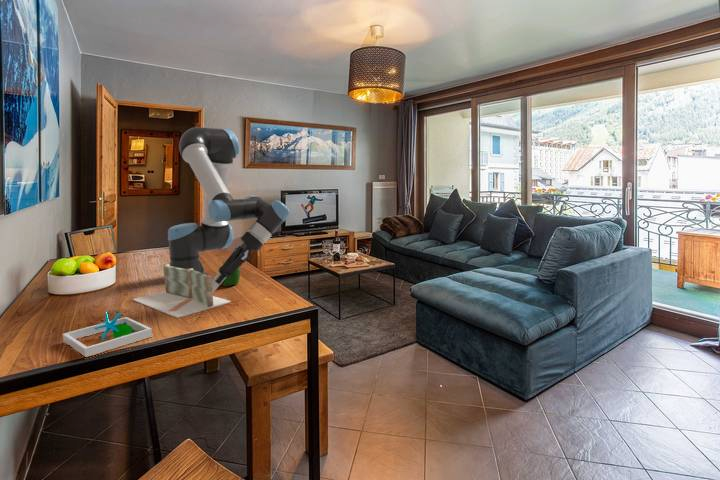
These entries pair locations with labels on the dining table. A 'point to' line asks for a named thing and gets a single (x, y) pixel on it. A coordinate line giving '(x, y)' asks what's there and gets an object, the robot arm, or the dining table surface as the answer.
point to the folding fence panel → (201, 287)
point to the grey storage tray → (97, 348)
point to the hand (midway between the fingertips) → (209, 289)
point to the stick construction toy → (115, 327)
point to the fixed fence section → (178, 280)
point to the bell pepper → (231, 278)
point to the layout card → (177, 303)
